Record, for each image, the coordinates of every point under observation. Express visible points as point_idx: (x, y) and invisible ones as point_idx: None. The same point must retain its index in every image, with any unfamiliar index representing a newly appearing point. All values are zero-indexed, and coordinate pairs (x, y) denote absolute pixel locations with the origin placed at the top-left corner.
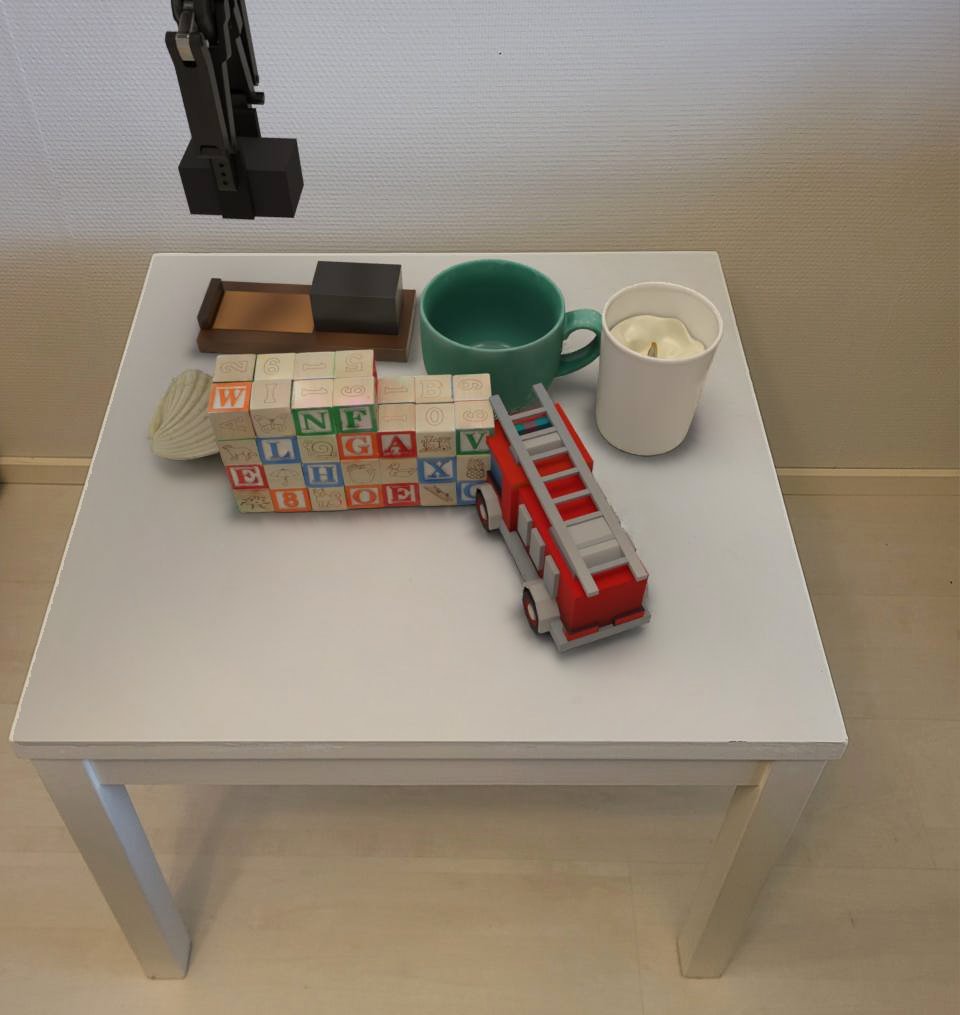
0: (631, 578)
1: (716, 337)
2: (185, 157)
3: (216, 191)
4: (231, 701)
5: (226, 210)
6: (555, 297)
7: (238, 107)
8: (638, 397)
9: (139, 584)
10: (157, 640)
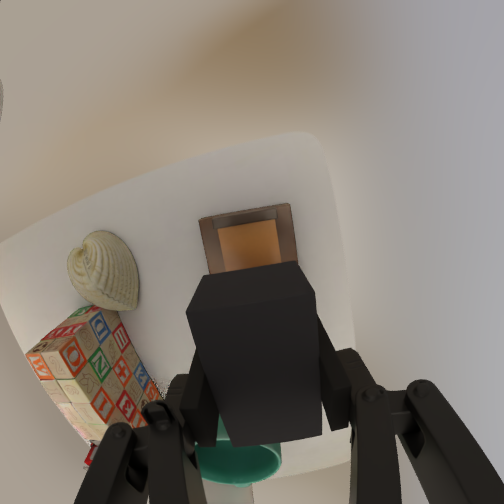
0: None
1: None
2: (225, 312)
3: (195, 353)
4: (19, 330)
5: None
6: (252, 478)
7: (349, 406)
8: None
9: (30, 271)
10: (18, 292)
